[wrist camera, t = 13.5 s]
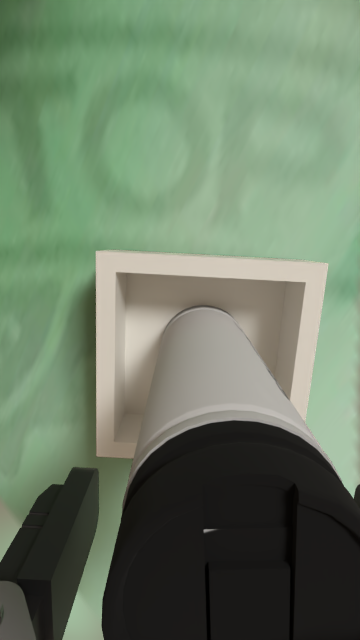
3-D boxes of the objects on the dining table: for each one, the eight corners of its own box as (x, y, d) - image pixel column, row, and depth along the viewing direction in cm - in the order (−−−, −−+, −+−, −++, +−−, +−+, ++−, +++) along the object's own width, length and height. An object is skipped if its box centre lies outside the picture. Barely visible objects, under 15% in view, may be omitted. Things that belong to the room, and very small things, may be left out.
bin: (113, 249, 25) (96, 250, 20) (301, 259, 25) (328, 263, 20) (111, 419, 28) (96, 456, 23) (279, 429, 28) (298, 468, 23)
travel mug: (163, 388, 27) (106, 791, 7) (159, 305, 25) (71, 523, 6) (243, 386, 26) (411, 789, 7) (243, 302, 25) (456, 514, 5)
